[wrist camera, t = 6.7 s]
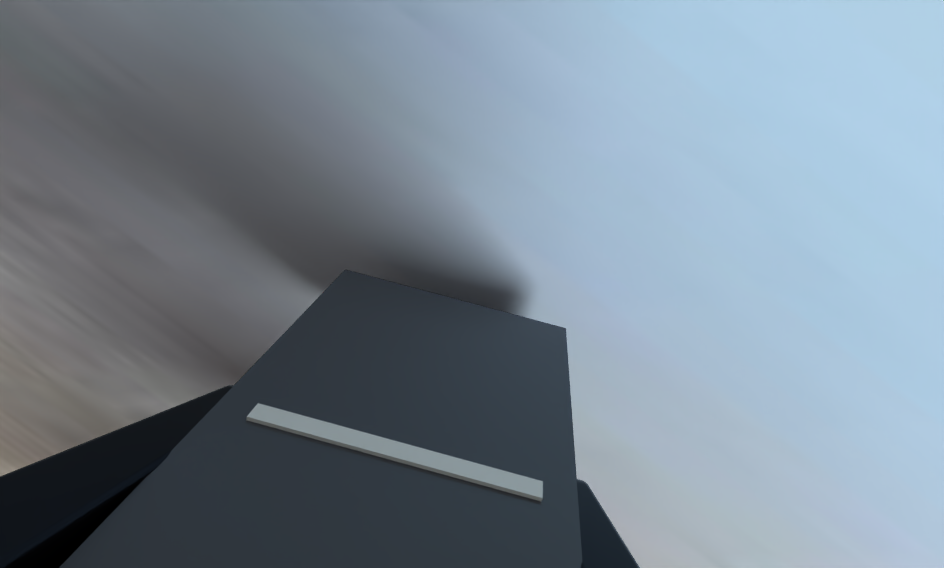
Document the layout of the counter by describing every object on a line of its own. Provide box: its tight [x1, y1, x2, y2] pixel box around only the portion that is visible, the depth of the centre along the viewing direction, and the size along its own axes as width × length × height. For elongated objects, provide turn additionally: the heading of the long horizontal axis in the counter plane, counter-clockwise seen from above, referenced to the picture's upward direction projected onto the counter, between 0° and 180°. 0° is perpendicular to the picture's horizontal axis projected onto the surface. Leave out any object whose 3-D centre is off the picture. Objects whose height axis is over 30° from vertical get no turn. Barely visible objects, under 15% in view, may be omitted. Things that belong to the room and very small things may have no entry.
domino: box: [59, 270, 582, 568], centre depth 7 cm, size 2×5×10 cm, turn 77°
